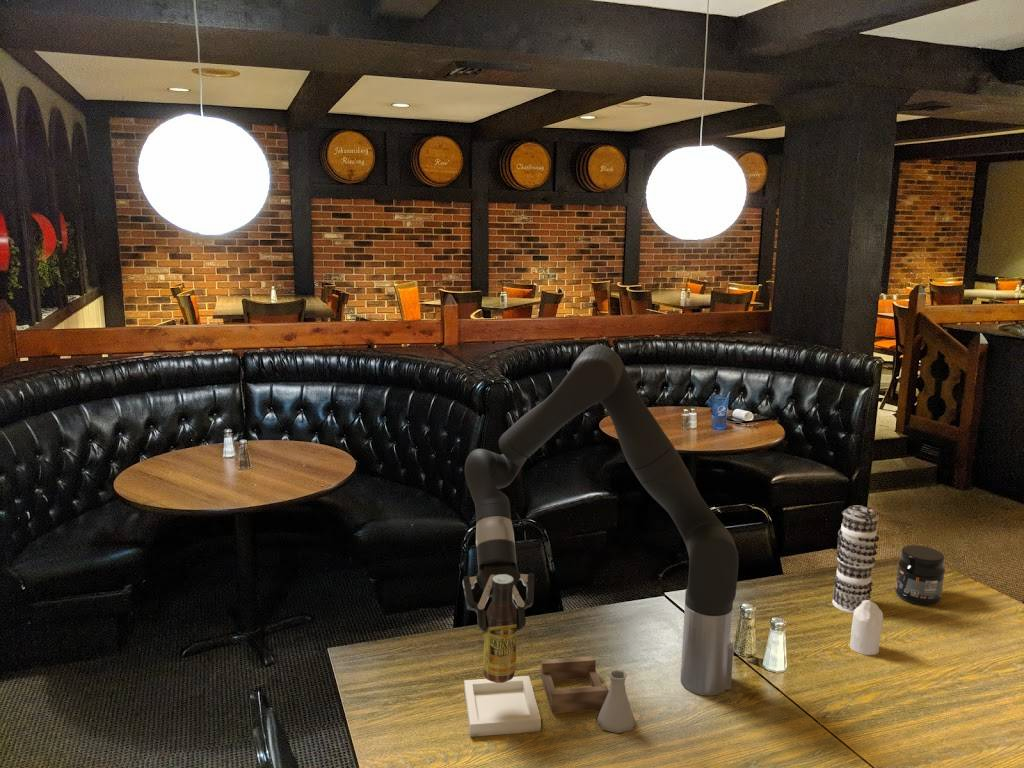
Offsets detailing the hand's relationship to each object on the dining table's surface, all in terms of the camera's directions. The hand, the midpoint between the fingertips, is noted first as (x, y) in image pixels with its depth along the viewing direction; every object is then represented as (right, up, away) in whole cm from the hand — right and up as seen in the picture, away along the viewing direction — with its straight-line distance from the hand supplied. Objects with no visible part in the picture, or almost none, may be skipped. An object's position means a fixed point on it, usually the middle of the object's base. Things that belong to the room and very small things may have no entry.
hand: (502, 630), depth 147 cm
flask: (+21, -18, +2) cm, 28 cm away
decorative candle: (+85, -9, +47) cm, 97 cm away
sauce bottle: (0, -10, +4) cm, 11 cm away
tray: (0, -17, +5) cm, 18 cm away
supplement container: (+103, -8, +52) cm, 116 cm away
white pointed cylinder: (+79, -13, +28) cm, 85 cm away
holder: (+14, -16, +11) cm, 24 cm away
